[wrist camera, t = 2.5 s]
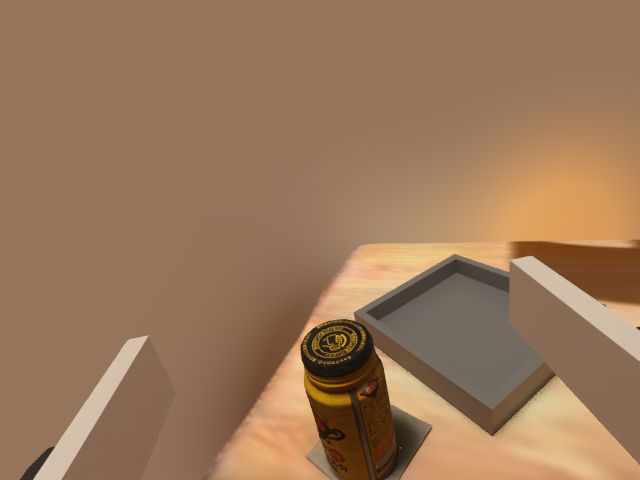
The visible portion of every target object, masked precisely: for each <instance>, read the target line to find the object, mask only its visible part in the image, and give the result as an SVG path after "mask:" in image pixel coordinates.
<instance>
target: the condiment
mask: <svg viewBox="0 0 640 480" xmlns="http://www.w3.org/2000/svg"><path fill="white" fill-rule="evenodd" d="M373 345H374V343H373V338H372V335H371V334H370V333H369V331H368V330H367V329H366V327H365V326H364V325H362V324H360V323H358V322H355V321H352V320H347V319H342V320H333V321H328V322H325V323H322V324H320V325H318V326H317V327H315V328H313V329H312V330H311V331H310V332H309V333H308V334H307V335H306V336H305V338H304V340H303V342H302V344H301V357H302V362H303V364H304V370H305V374H304V386H305V389H306V393H307V396H308V399H309V402H310V406H311V408H312V412H313V415H314V418H315V422H316V425H317V429H318V432H319V437H320V439H321V441H320V442H319V443H318V444H317V445H316V446H315V448H314V449H313V450H312V451H311V452H310V453H309V454H308V455H306V456H305V457H307V458H308V459H309V460H310V461H311V462H312V463H314V464H315V465H316V466H317V467H318V468H319V469H320V470H321V471H323V472H324V473H325V474H326V475H327V476H328V477H330V478H331V479H332V480H399V478H400V476H401V475H402V474H403V472H404V470H405V468H406V467H407V465H408V464H409V462H410V460H411V458H412V456H413V455H414V454H415V452H416V451H417V449H418V448H419V446H420V445H421V443H422V442H423V440H424V438H425V436H426V434H427V433H428V432H429V430H430V428H431V427H432V425H430V424H428V423H426V422H424V421H421V420H419V419H418V418H415V417H414V416H412V415H410V414H408V413H406V412H404V411H402V410H400V409H399V408H397V407H395V406H393V405H390V401H389V396H388V390H387V385H386V379H385V374H384V367H383V365H382V362H381V360H380V358H379V357H378V355H377V354H376V351H375V348H374V346H373ZM399 447H401V449H400V448H399Z"/></svg>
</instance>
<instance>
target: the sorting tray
mask: <svg viewBox="0 0 640 480" xmlns="http://www.w3.org/2000/svg"><path fill="white" fill-rule="evenodd" d="M509 287H510V273H509V272H506V271H503V270H500V269H497V268H494V267H491V266H488V265H485V264H482V263H479V262H476V261H474V260H471V259H468V258H465V257H462V256H459V255H456V254H454V255H452V256H450V257H449V258H447V259H445V260H443V261H442V262H440V263H438V264H437V265H435V266H433V267H431V268H430V269H428V270H426V271H425V272H423V273H421V274H419V275H418V276H416V277H414V278H413V279H411V280H409V281H407V282H406V283H404V284H402V285H400V286H399V287H397V288H395V289H394V290H392V291H390V292H388V293H387V294H385V295H383V296H382V297H380V298H378V299H376V300H375V301H373V302H371V303H370V304H368V305H366V306H364V307H363V308H361V309H359V310H357V311H356V312H354V316H355V321H356V322H358V323H360V324H362V325H364V326H365V327H366V329H367V330H368V331H369V333H370V334H371V335H372V338H373V343H374V345H375V346H376V347H378V348H379V349H380V350H381V351H383V352H384V353H385V354H387V355H388V356H389V357H391V358H392V359H393V360H394V361H396V362H397V363H398V364H400V365H401V366H402V367H404V368H405V369H406V370H407V371H409V372H410V373H411V374H413V375H414V376H415V377H417V378H418V379H419V380H420V381H422V382H423V383H424V384H426V385H427V386H428V387H430V388H431V389H432V390H433V391H435V392H436V393H437V394H439V395H440V396H441V397H443V398H444V399H445V400H447V401H448V402H449V403H450V404H452V405H453V406H454V407H456V408H457V409H458V410H460V411H461V412H462V413H463V414H465V415H466V416H467V417H469V418H470V419H471V420H473V421H474V422H475V423H476V424H478V425H479V426H480V427H482V428H483V429H484V430H486V431H487V432H488V433H489V434H491V435H492V436H493V435H494V434H495V433H496V432H497V431H498V430H499V429H500V428H501V427H502V426H503V425H504V424H505V423H506V422H507V421H508V420H509V419H510V418H511V417H512V416H513V415H514V414H515V413H517V412H518V411H519V410H520V409H521V408H522V407H523V406H524V405H525V404H526V403H527V402H528V401H529V400H530V399H531V398H532V397H533V396H534V395H535V394H536V393H537V392H538V391H539V390H540V389H541V388H542V387H543V386H544V385H546V384H547V383H548V382H549V381H550V380H551V379H552V378H553V377H554V376H555V375H556V374H555V373H554V372H553V371H552V369H551V368H550V367H549V366H548V365H547V364H546V363H545V362H544V361H543V360H542V359H541V358H540V356H539V355H538V354H537V353H536V352H535V351H534V350H533V349H532V348H531V347H530V346H529V345H528V343H527V342H526V341H525V340H524V339H523V338H522V337H521V336H520V335H519V334H518V333H517V332H516V331H515V329H514V328H513V327H512V326H511V325H510V324H509ZM602 305H604V304H602ZM604 306H605V307H606V305H604Z"/></svg>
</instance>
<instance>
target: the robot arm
mask: <svg viewBox="0 0 640 480" xmlns="http://www.w3.org/2000/svg"><path fill="white" fill-rule="evenodd" d="M509 324H510V325H511V326H512V327H513V328H514V329H515V331H516V332H517V333H518V334H519V335H520V336H521V337H522V338H523V339H524V340H525V341H526V342H527V343H528V345H529V346H530V347H531V348H532V349H533V350H534V351H535V352H536V353H537V354H538V355H539V356H540V358H541V359H542V360H543V361H544V362H545V363H546V364H547V365H548V366H549V367H550V368H551V369H552V371H553V372H554V373H555V374H556V375H557V376H558V377H559V378H560V379H561V380H562V381H563V382H564V384H565V385H566V386H567V387H568V388H569V389H570V390H571V391H572V392H573V393H574V394H575V395H576V396H577V398H578V399H579V400H580V401H581V402H582V403H583V404H584V405H585V406H586V407H587V408H588V409H589V411H590V412H591V413H592V414H593V415H594V416H595V417H596V418H597V419H598V420H599V421H600V422H601V424H602V425H603V426H604V427H605V428H606V429H607V430H608V431H609V432H610V433H611V434H612V435H613V436H614V438H615V439H616V440H617V441H618V442H619V443H620V444H621V445H622V446H623V447H624V448H625V449H626V451H627V452H628V453H629V454H630V455H631V456H632V457H633V458H634V459H635V460H636V461H637V462H638V464H639V465H640V327H636V328H635V327H634V326H633V325H631V324H630V323H628V322H627V321H625V320H624V319H622V318H621V317H619V316H618V315H617V314H615V313H614V312H612V311H611V310H609V309H608V308H606V307H605V306H604V305H602V304H601V303H599V302H598V301H596V300H595V299H593V298H592V297H591V296H589V295H588V294H586V293H585V292H583V291H582V290H580V289H579V288H578V287H576V286H575V285H573V284H572V283H570V282H569V281H567V280H566V279H564V278H563V277H562V276H560V275H559V274H557V273H556V272H554V271H553V270H551V269H550V268H549V267H547V266H546V265H544V264H543V263H541V262H540V261H538V260H537V259H536V258H534V257H533V256H528V257H523V258H519V259H514V260H510V287H509ZM175 393H176V390H175V388H174V386H173V384H172V382H171V380H170V378H169V376H168V374H167V372H166V370H165V368H164V366H163V363H162V362H161V359H160V358H159V355H158V353H157V351H156V349H155V347H154V345H153V343H152V341H151V339H150V337H149V336H144V337H139V338H134V339H129V340H128V341H127V342H126V343H125V345H124V346H123V348H122V349H121V351H120V352H119V354H118V355H117V357H116V358H115V360H114V361H113V363H112V364H111V365H110V367H109V368H108V370H107V371H106V373H105V375H104V376H103V378H102V379H101V380H100V382H99V383H98V385H97V386H96V388H95V389H94V391H93V392H92V394H91V395H90V397H89V398H88V400H87V401H86V403H85V404H84V406H83V407H82V408H81V410H80V411H79V413H78V414H77V416H76V417H75V419H74V420H73V422H72V423H71V425H70V426H69V427H68V429H67V431H66V432H65V433H64V435H63V436H62V438H61V439H60V441H59V442H58V444H57V445H56V447H51V448H48V449H47V450H46V451H45V452H44V453H43V454H42V455H41V456H40V457H39V458H38V459H37V460H36V461H35V462H34V463H33V464H32V465H31V466H30V467H29V468H28V469H27V471H26V472H25V473H24V475H23V477H22V478H21V479H20V480H141V478H142V476H143V473H144V471H145V468H146V466H147V463H148V461H149V458H150V456H151V453H152V451H153V448H154V446H155V443H156V440H157V438H158V436H159V433H160V431H161V428H162V426H163V423H164V421H165V418H166V416H167V413H168V411H169V408H170V406H171V403H172V401H173V398H174V396H175Z"/></svg>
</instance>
